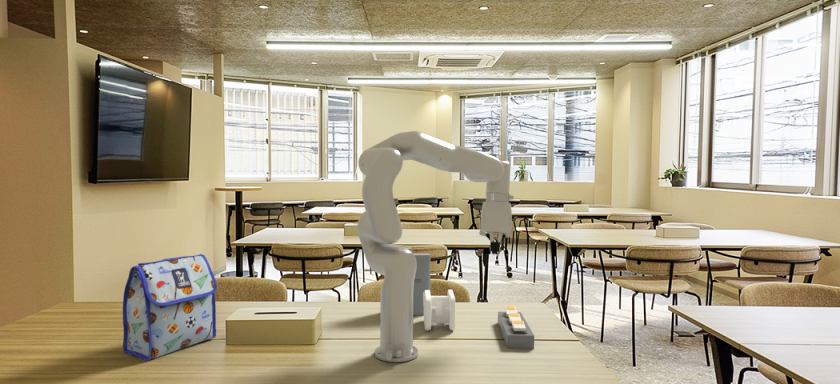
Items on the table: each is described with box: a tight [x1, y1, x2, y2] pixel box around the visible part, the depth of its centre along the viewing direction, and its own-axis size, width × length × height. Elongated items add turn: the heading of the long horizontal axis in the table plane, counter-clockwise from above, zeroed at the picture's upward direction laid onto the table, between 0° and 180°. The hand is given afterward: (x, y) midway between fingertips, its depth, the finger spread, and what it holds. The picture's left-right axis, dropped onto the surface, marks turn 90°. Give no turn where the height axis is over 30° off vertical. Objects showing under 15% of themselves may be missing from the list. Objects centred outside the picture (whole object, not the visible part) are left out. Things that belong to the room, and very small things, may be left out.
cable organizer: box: [423, 289, 456, 332], centre depth 167 cm, size 15×11×12 cm
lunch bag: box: [122, 253, 218, 362], centre depth 145 cm, size 23×17×27 cm
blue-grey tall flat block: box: [405, 246, 431, 316], centre depth 182 cm, size 17×5×25 cm, turn 89°
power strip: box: [497, 311, 535, 350], centre depth 164 cm, size 34×8×5 cm, turn 177°
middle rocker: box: [508, 313, 521, 323], centre depth 159 cm, size 5×4×1 cm
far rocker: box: [504, 305, 518, 317], centre depth 167 cm, size 5×4×1 cm
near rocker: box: [512, 321, 526, 331], centre depth 151 cm, size 5×4×1 cm
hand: (494, 253), depth 160 cm, fingers closed
